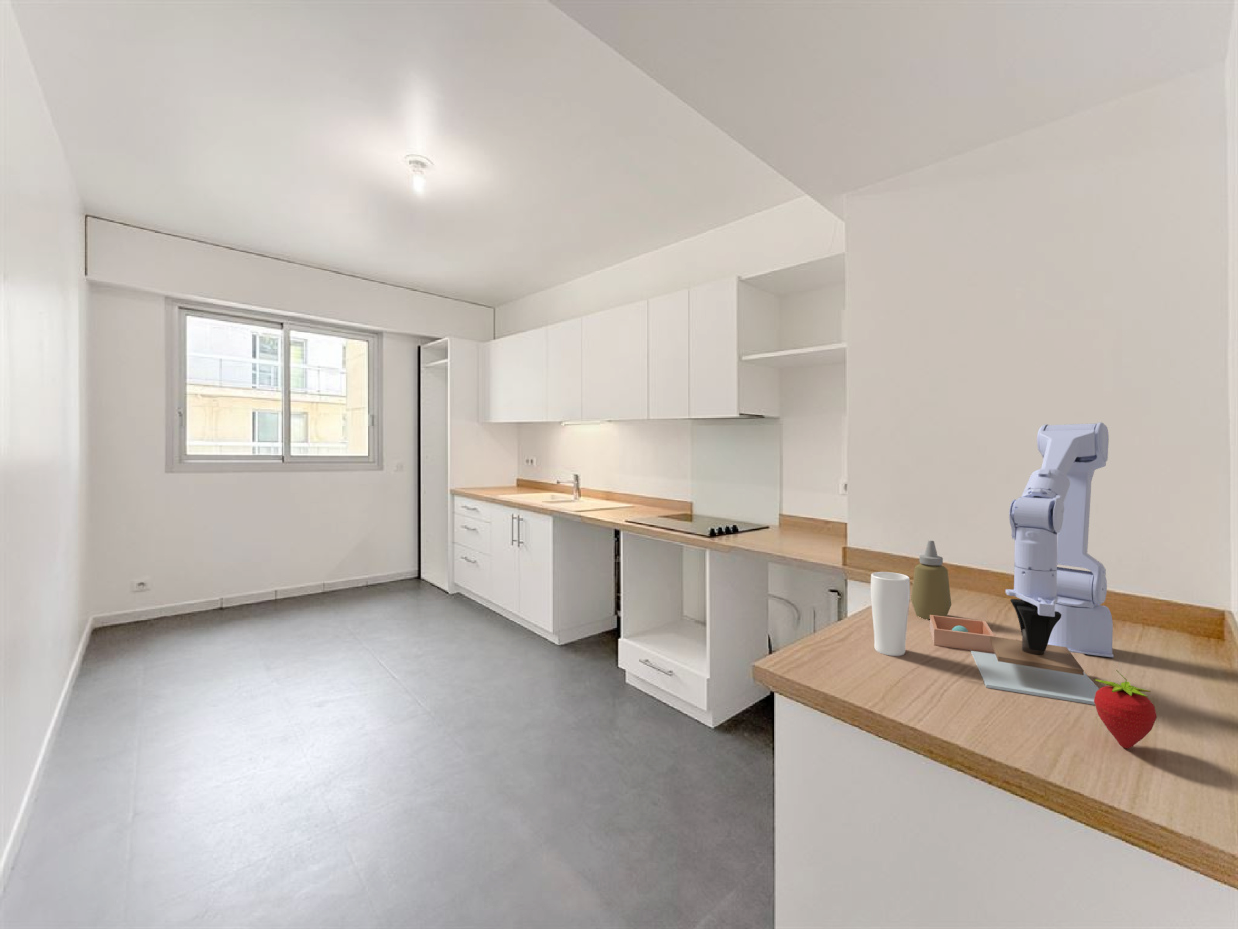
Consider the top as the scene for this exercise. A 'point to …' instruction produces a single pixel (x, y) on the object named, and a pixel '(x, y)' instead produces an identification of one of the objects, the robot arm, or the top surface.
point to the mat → (1034, 680)
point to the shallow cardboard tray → (961, 633)
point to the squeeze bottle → (931, 585)
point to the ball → (960, 629)
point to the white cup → (890, 611)
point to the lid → (1035, 655)
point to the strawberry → (1125, 711)
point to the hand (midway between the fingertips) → (1034, 646)
